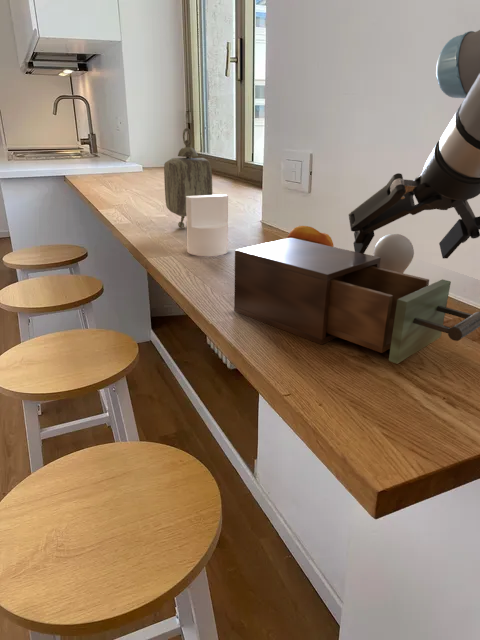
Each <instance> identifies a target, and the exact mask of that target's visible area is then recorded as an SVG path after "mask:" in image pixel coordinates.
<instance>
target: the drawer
mask: <svg viewBox="0 0 480 640" xmlns="http://www.w3.org/2000/svg"><path fill="white" fill-rule="evenodd" d="M451 283H452V281H451V280H448V279H447V280H446V279H443V278H442V279H440V280H438V281H435V282H433V283H431V284H430V279H429V278H425V277H420V276H416V275H413V274H407V273H405V272H404V273H400V272H396V271H391V270H387V269H383V268H379V267H374V266H369V267H366V268H363V269H360V270H357V271H354V272H351V273H348V274H345V275H342V276H339V277H336V278H333V279H330V291H329V303H328V314H327V325H326V333H328V334H331V335H333V336H336V337H337V338H339V339H342V340H345V341H346V342H347V341H348V342H350V343H352V344H356V345H359V346H362V347H364V348H367V349H370V350H373V351H375V352H378V353H380V354H383V353H385V352H387V351H388V350H389V355H388V362H391V363H393V364H397V365H398V364H400V363H402V362H403V361H406V360H407V359H408V358H409V357H411V356H413V355H414V354H416V353H418V352H419V351H421V350H422V349H424V348H426V347H428V346H429V345H430V344H433V343H434V342H435V341H438V339H439V340H440V339H441V337H442V333H444V334H447V336H448V337H449V338H450V340H452V341H455V342H458V341H460V340H461V339H463V338H465V337H466V336H468V335H470V334H471V333H472V332H474V331H475V330H477V329H479V328H480V311H476V312H474V313H469V312H465V311H462V310H458V309H454V308H451V307H447V305H448V300H449V294H450V289H451ZM446 314H447V315H451V316H454V317H458V318H461V319H462V320H461V321H460V322H458V323H456V324H455V325H453V326H451V327H450V326H447V325H444V322H445V316H446Z"/></svg>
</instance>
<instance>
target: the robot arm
mask: <svg viewBox="0 0 480 640" xmlns="http://www.w3.org/2000/svg"><path fill="white" fill-rule="evenodd" d="M435 68H436V69H435V74H436V75H435V77H436V80H437V84H438V86H439V88H440V90H441V92H443V94H444V95H446V96H448V97H450V98H452V99H463V101H462V102H461V104H460V105H459V106H458V108H457V110H456V112H455V113H454V115H453V117H451V118H452V119H451V120H450V122H449V123H448V125H447V126H446V128H445V130H444V131H443V133H442V135H441V137H440V138H439V140H438V141H437V142H436V144H435V145H434V147H433V149H432V150H431V152H430V153H429V156H428V157H427V159H426V161H425V163H424V166H423V169H422V172H421V173H420V174H419V175H418V176H416V177H415V178H413V179H406V178H405V179H404V176H403V173H395V174H393V175H392V176H391V178H390V179H389V181H388V182H387V184H386V185H385V186H382V187H381V188H380V189H379V190H378V191H376V192H375V193H374V194H373V195H371V196H370V197H369V198H367V199H366V200H365V201H364V202H362V203H361V204H360V205H358V206H357V207H356V208H355V209H353V210H351V212H349V213H348V220H349V227H350V231H351V232H352V233H353V237H354V241H353V249H354V250H353V251H354V252H358V253H363V254H365V252H366V251H367V250H368V248H369V245H370V244H371V242H372V240H373V239H374V237H375V231H377V230H379V229H381V228H383V227H385V226H387V225H389V224H391V223H393V222H395V221H398V220H399V219H401V218H404V217H406V216H408V215H412V216H415V215H417V214H419V213H421V212H423V211H432V210H439V211H448V209H453V208H454V210H455V212H456V213H457V215H458V216H459V217H460V218H458V220H457V221H456V222H455V223H454V225H452V226H451V228H450V229H449V231H448V232H447V233H446V234H445V235H444V236H443V238H442V239H441V240H440V242H439V243H438V244H439V248H440V249H439V250H440V252H441V257H442V259H448V258H449V257H450V256H451V255H452V254H453V253H454V252H455V251H456V249H458V248H459V246H460V245H461V244H464V243H466V242H467V241H468V240H469V239H478V238H480V215H479V216H476V215H475V213H474V211H473V210H472V207H471V206H470V203H469V200H471V199H472V200H473V199H474V198H477V197H478V196H479V195H480V29H478V30H477V31H473V30H469V31H467V32H464V33H463V34H460V35H456V36H454V37H452V38H451V39H449V40H448V41H447V42H446V43H445V45H444V46H443V47H442V49H441V51H440V53H439V56H438V58H437V61H436V67H435ZM414 197H415V200H416V201H417V204H415V200H414Z"/></svg>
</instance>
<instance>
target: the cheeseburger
mask: <svg viewBox="0 0 480 640" xmlns="http://www.w3.org/2000/svg"><path fill="white" fill-rule="evenodd" d="M286 238H295V239H299V240H304V241H309V242H313V243H318V244H322V245H327V246H331V247H335V246H334V245H335V244H334V242H333V240H332V237H331V236H330V235H329V234H328V233H326V232H320V231H319V230H317V229H316V228H314V227H312V226H307V225H298V226H296V227H294V228H293V229H291V231H290V232H289V233H288V235H287V237H286Z"/></svg>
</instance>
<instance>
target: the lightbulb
mask: <svg viewBox="0 0 480 640" xmlns="http://www.w3.org/2000/svg"><path fill="white" fill-rule="evenodd" d="M373 256H377V257H381V261H380V268H383V269H387V270H391V271H396V272H400V273H404V274H405V271H406V270H407V268H408V267H409V266H410V264H411V263H412V262H413V259H414V257H415V249H414V245H413V243H412V241H411V240H410V239H409V238H408V237H407V236H405V235H403V234H402V233H401V234H400V233H389V234H386V235H384V236H382V237H381V238H379V240H377V242H376V244H375V246H374V249H373Z"/></svg>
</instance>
